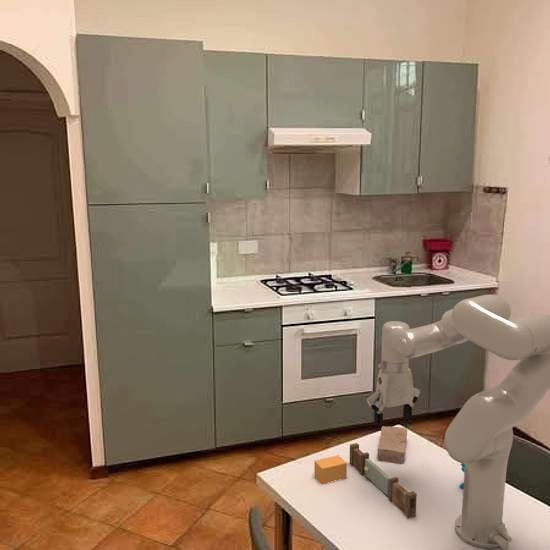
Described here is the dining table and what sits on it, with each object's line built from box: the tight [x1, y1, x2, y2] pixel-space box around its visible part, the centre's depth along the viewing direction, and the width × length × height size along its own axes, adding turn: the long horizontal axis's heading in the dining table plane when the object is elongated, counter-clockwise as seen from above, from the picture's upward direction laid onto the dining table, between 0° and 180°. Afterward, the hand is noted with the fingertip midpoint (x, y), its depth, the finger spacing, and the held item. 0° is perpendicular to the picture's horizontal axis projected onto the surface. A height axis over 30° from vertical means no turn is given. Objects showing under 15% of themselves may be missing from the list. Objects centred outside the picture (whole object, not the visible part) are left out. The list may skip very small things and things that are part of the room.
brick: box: [377, 425, 408, 465], centre depth 186 cm, size 17×8×5 cm, turn 165°
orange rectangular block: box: [313, 455, 348, 485], centre depth 171 cm, size 5×8×5 cm, turn 113°
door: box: [364, 457, 392, 497], centre depth 165 cm, size 13×2×5 cm, turn 23°
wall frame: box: [349, 442, 418, 519], centre depth 164 cm, size 30×2×6 cm, turn 23°
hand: (393, 421), depth 167 cm, fingers open, 9 cm apart
